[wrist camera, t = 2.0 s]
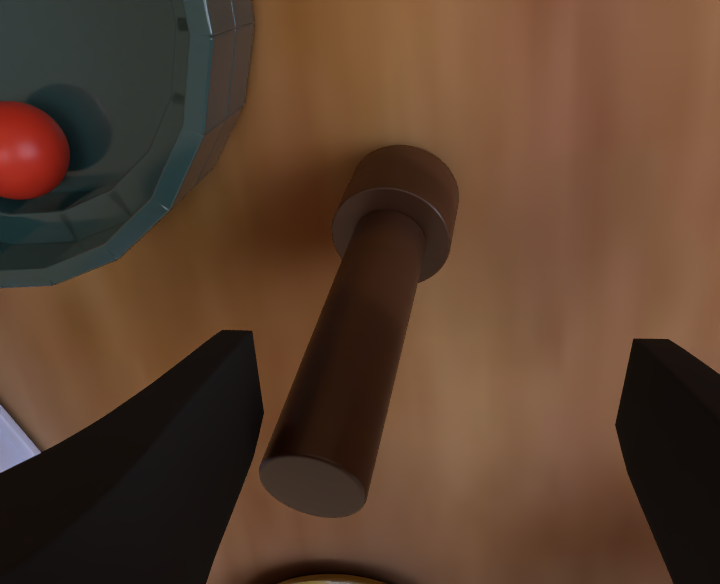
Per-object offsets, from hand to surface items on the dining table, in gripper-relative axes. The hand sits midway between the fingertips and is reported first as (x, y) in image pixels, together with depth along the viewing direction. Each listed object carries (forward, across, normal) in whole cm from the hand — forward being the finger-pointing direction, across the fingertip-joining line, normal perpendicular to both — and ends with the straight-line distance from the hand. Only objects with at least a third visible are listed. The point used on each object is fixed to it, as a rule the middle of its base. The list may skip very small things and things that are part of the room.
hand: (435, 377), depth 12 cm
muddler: (+10, +1, 0) cm, 10 cm away
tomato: (+8, +13, -2) cm, 15 cm away
